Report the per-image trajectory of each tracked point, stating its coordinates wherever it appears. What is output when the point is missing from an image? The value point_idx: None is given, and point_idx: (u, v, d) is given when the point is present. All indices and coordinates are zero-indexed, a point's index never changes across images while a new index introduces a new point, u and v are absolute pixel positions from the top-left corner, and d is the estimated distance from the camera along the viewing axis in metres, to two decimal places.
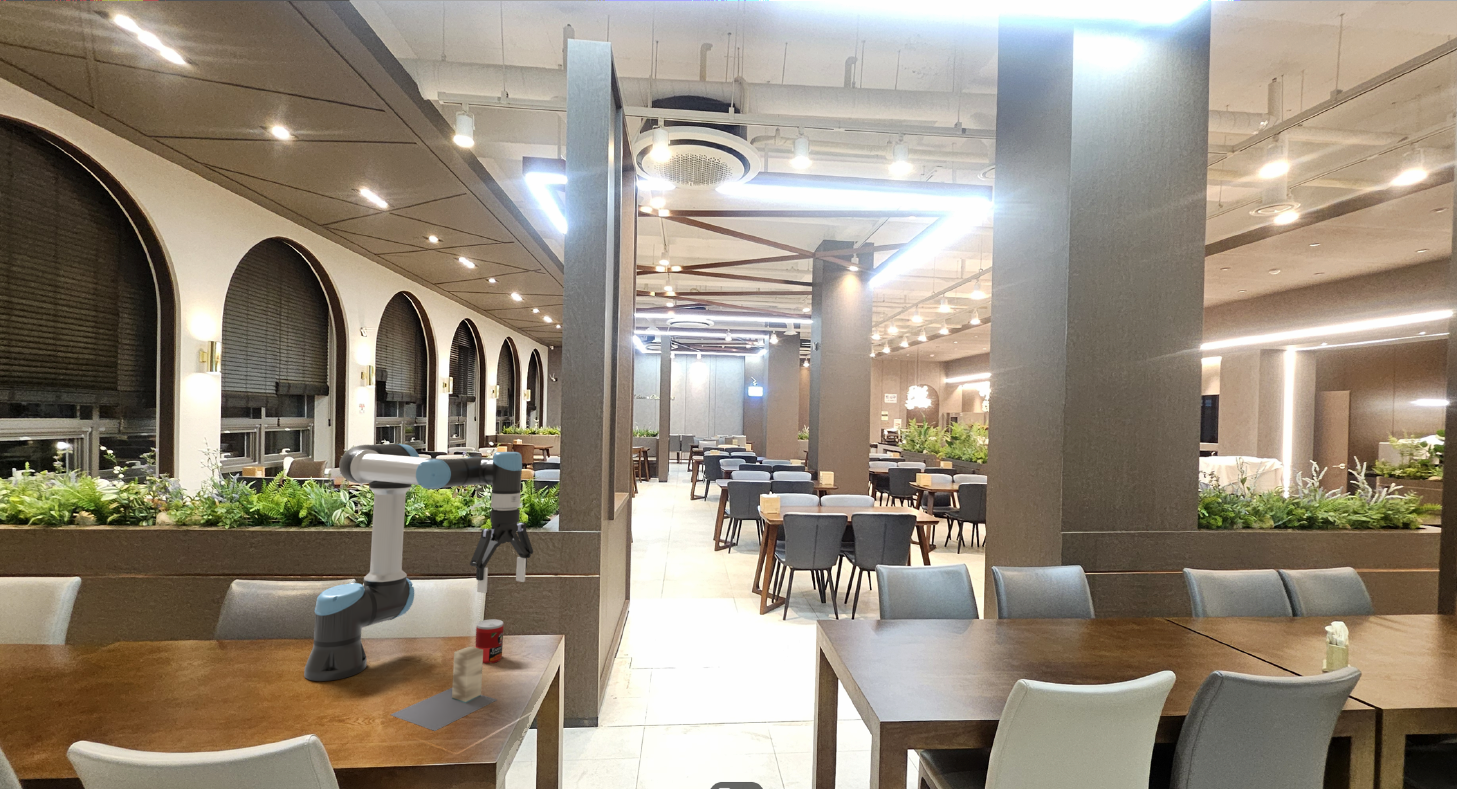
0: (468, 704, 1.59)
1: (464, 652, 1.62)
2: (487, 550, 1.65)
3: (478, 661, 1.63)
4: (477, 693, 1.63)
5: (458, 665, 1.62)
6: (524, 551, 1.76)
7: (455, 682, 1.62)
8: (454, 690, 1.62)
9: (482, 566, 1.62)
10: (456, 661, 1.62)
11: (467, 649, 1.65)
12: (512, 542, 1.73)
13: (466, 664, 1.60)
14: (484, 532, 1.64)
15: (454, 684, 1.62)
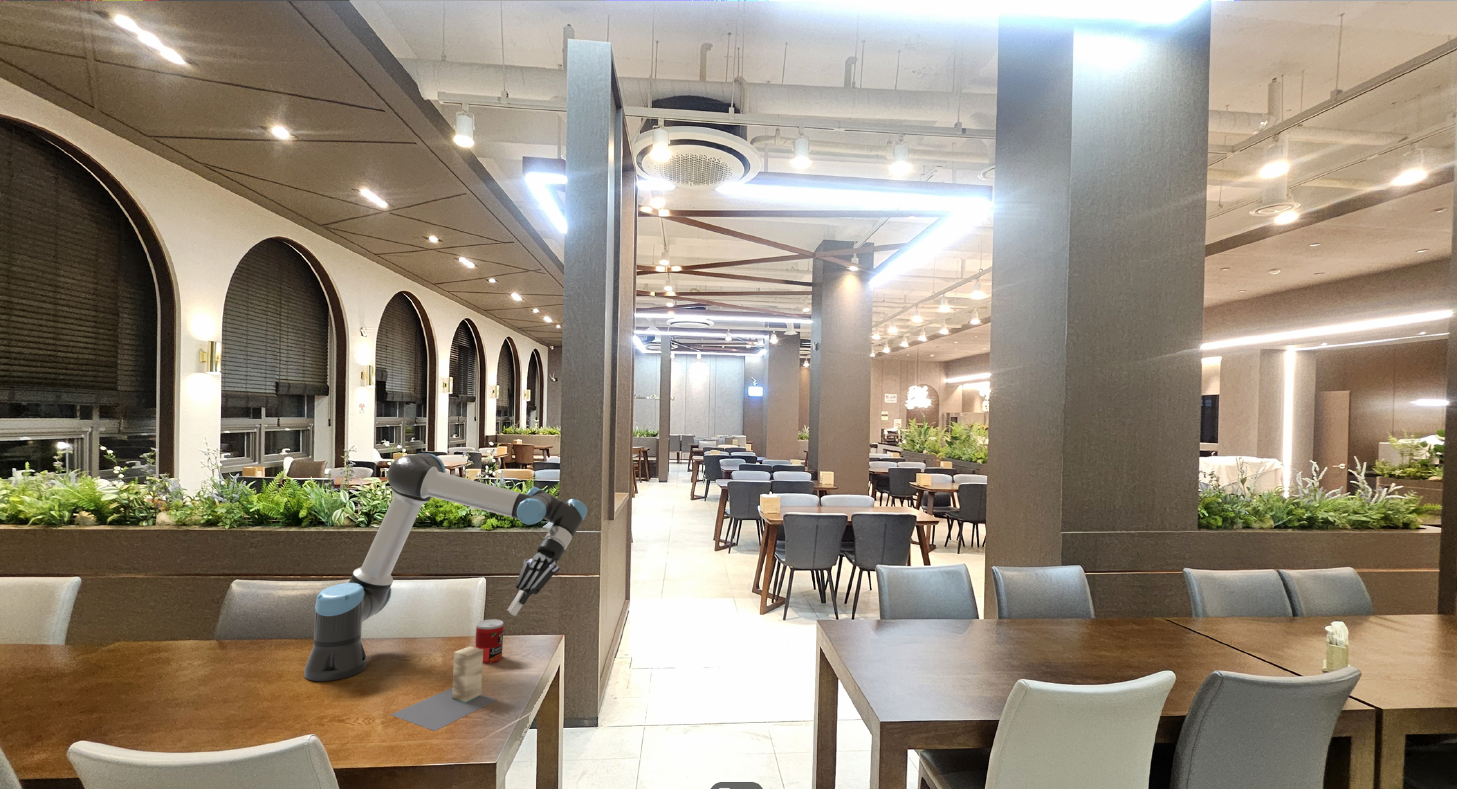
0: (468, 704, 1.59)
1: (464, 652, 1.62)
2: None
3: (478, 661, 1.63)
4: (477, 693, 1.63)
5: (458, 665, 1.62)
6: (530, 584, 1.81)
7: (455, 682, 1.62)
8: (454, 690, 1.62)
9: (518, 588, 1.81)
10: (456, 661, 1.62)
11: (467, 649, 1.65)
12: None
13: (466, 664, 1.60)
14: None
15: (454, 684, 1.62)
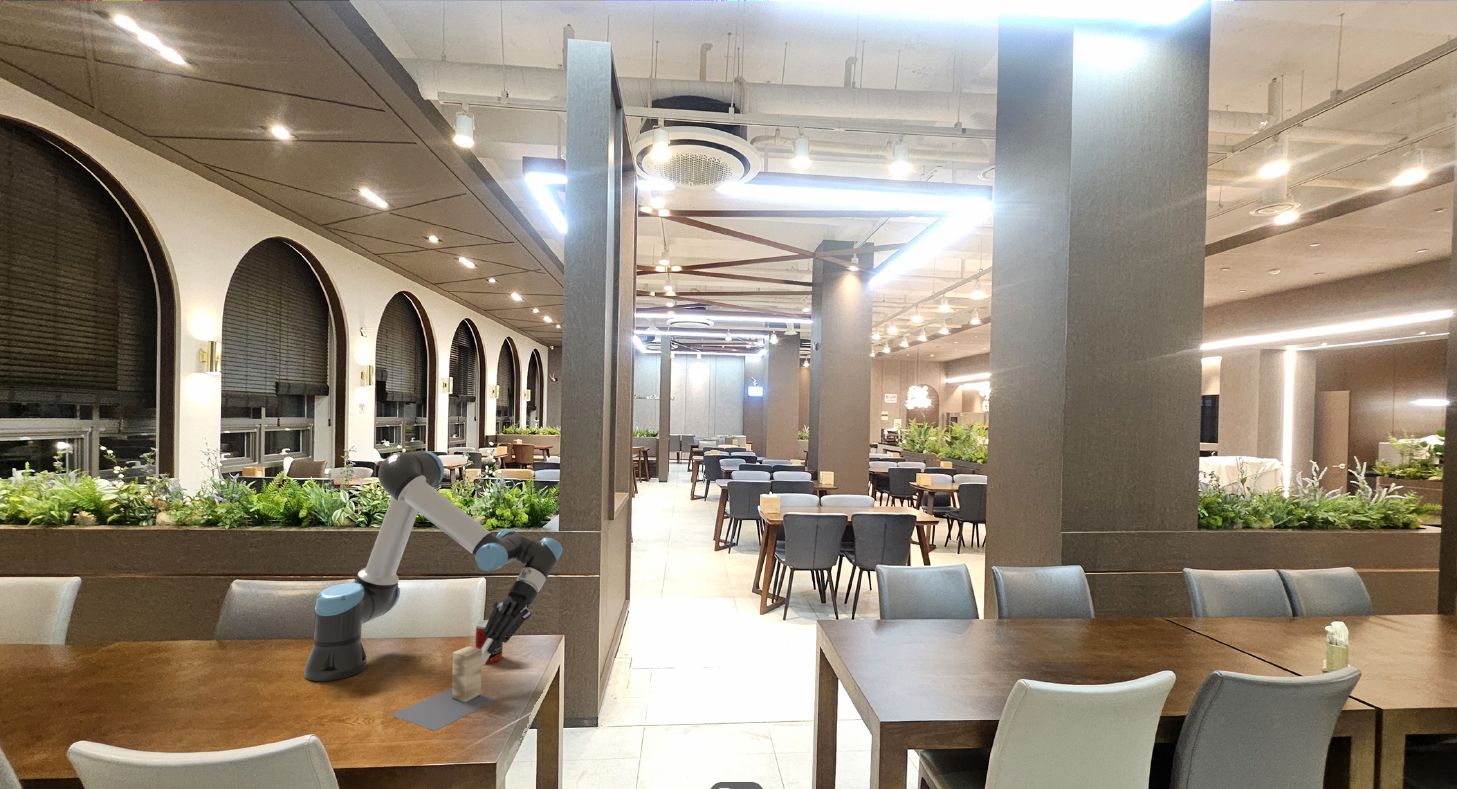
0: (468, 704, 1.59)
1: (462, 652, 1.62)
2: None
3: (477, 661, 1.63)
4: (477, 692, 1.63)
5: (457, 666, 1.61)
6: (499, 631, 1.71)
7: (455, 682, 1.62)
8: (454, 690, 1.62)
9: (487, 636, 1.71)
10: (455, 662, 1.62)
11: (466, 649, 1.64)
12: None
13: (465, 665, 1.60)
14: None
15: (454, 684, 1.62)
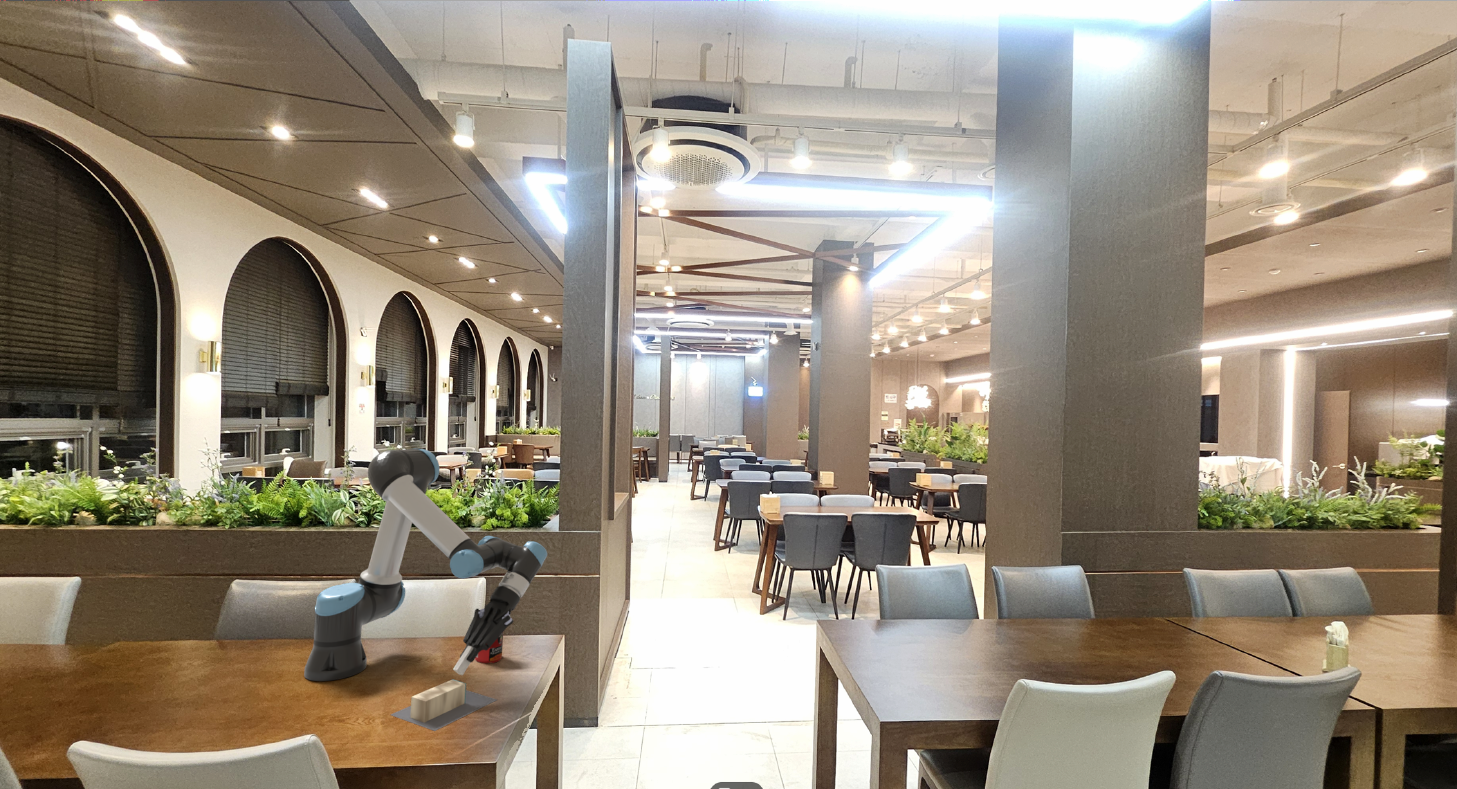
0: (468, 704, 1.59)
1: (417, 715, 1.50)
2: None
3: (434, 703, 1.52)
4: (462, 689, 1.59)
5: None
6: (479, 639, 1.65)
7: None
8: None
9: (467, 644, 1.65)
10: None
11: (415, 706, 1.51)
12: None
13: None
14: None
15: None
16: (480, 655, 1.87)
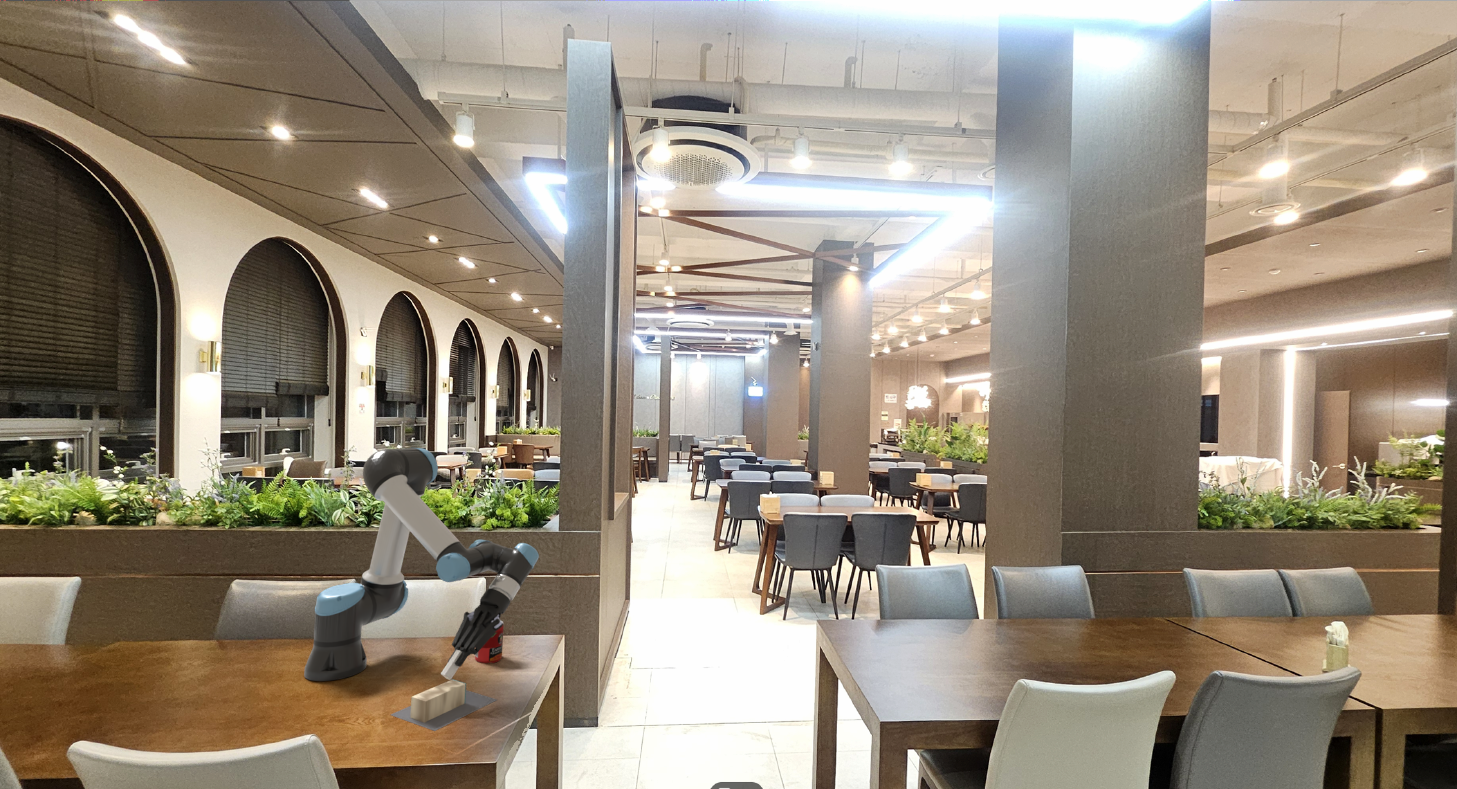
0: (468, 704, 1.59)
1: (417, 715, 1.50)
2: None
3: (434, 703, 1.52)
4: (462, 689, 1.59)
5: None
6: (468, 643, 1.62)
7: None
8: None
9: (455, 648, 1.62)
10: None
11: (415, 706, 1.51)
12: None
13: None
14: None
15: None
16: (480, 655, 1.87)
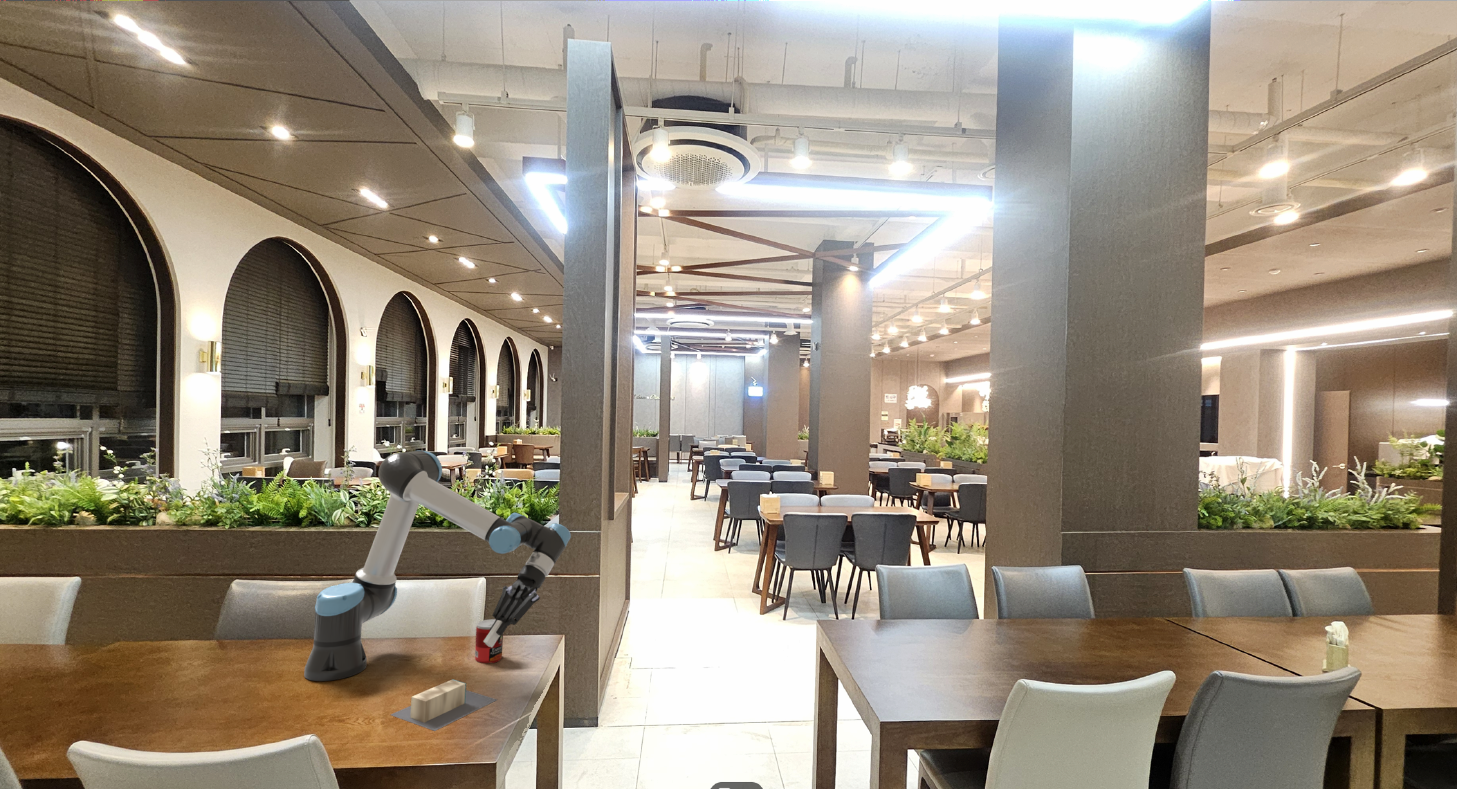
0: (468, 704, 1.59)
1: (417, 715, 1.50)
2: None
3: (434, 703, 1.52)
4: (462, 689, 1.59)
5: None
6: (508, 614, 1.74)
7: None
8: None
9: (496, 618, 1.74)
10: None
11: (415, 706, 1.51)
12: None
13: None
14: None
15: None
16: (480, 655, 1.87)
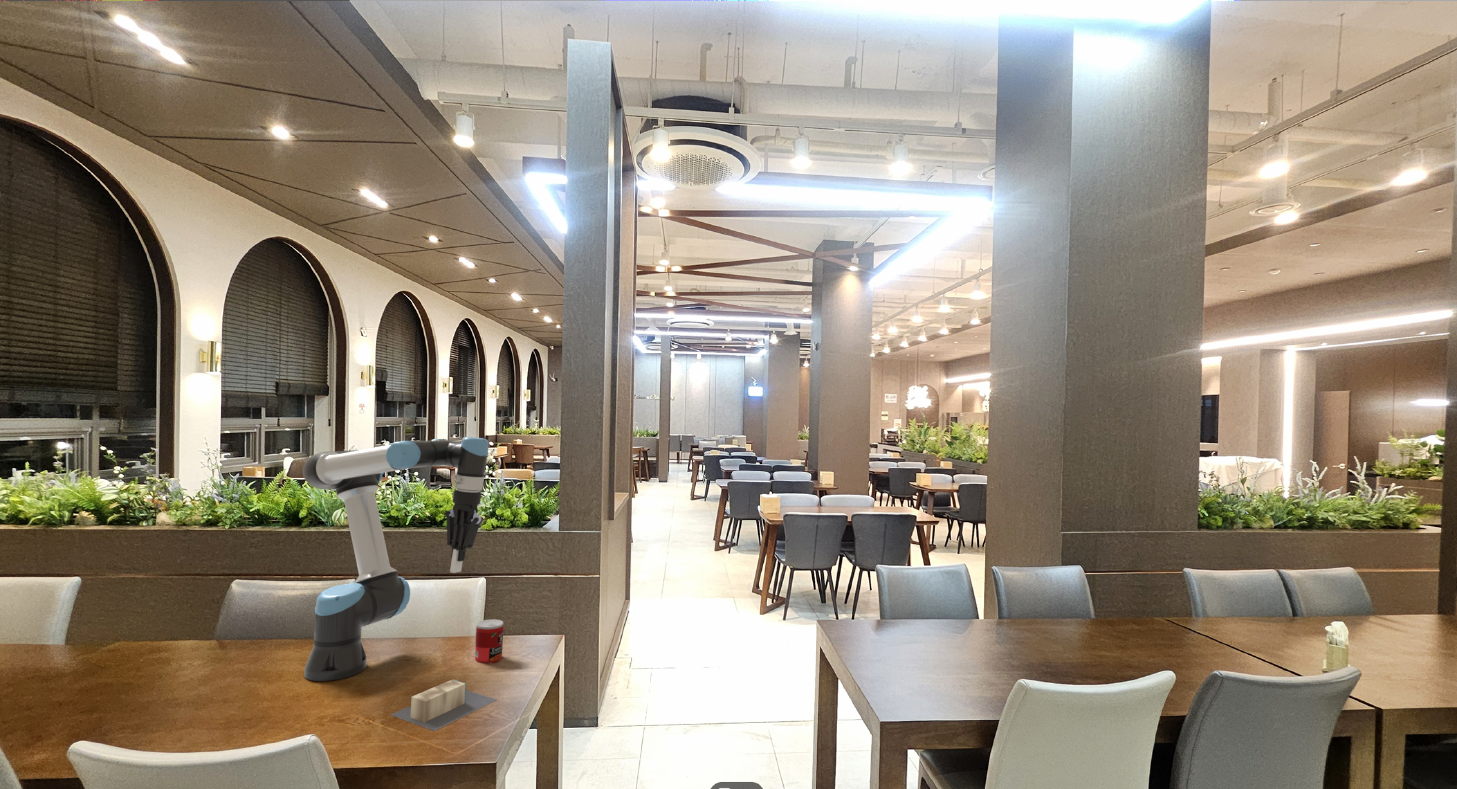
0: (468, 704, 1.59)
1: (417, 715, 1.50)
2: None
3: (434, 703, 1.52)
4: (462, 689, 1.59)
5: None
6: (460, 542, 1.78)
7: None
8: None
9: (452, 547, 1.80)
10: None
11: (415, 706, 1.51)
12: None
13: None
14: None
15: None
16: (480, 655, 1.87)
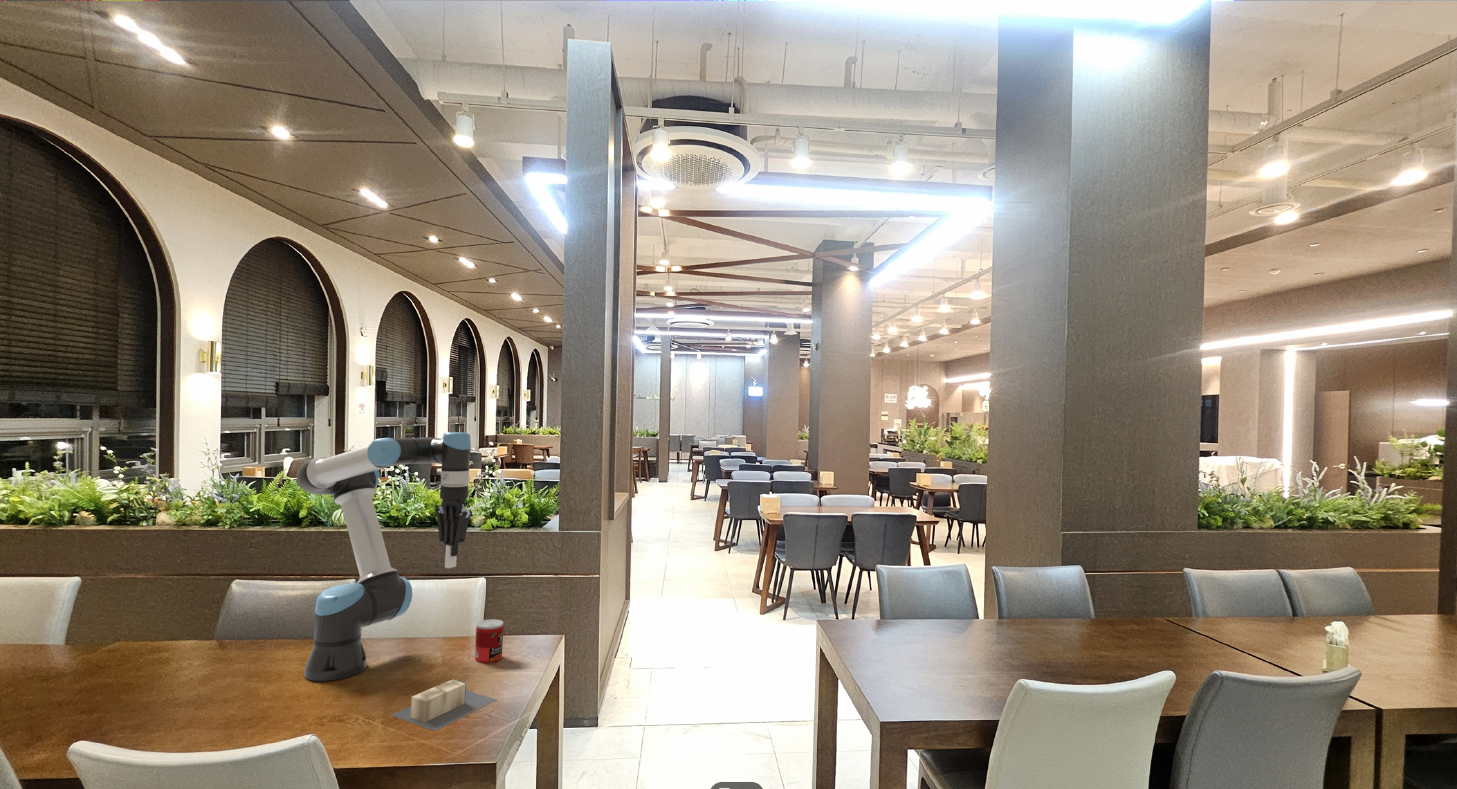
0: (468, 704, 1.59)
1: (417, 715, 1.50)
2: None
3: (434, 703, 1.52)
4: (462, 689, 1.59)
5: None
6: (452, 537, 1.78)
7: None
8: None
9: (444, 543, 1.80)
10: None
11: (415, 706, 1.51)
12: None
13: None
14: None
15: None
16: (480, 655, 1.87)
